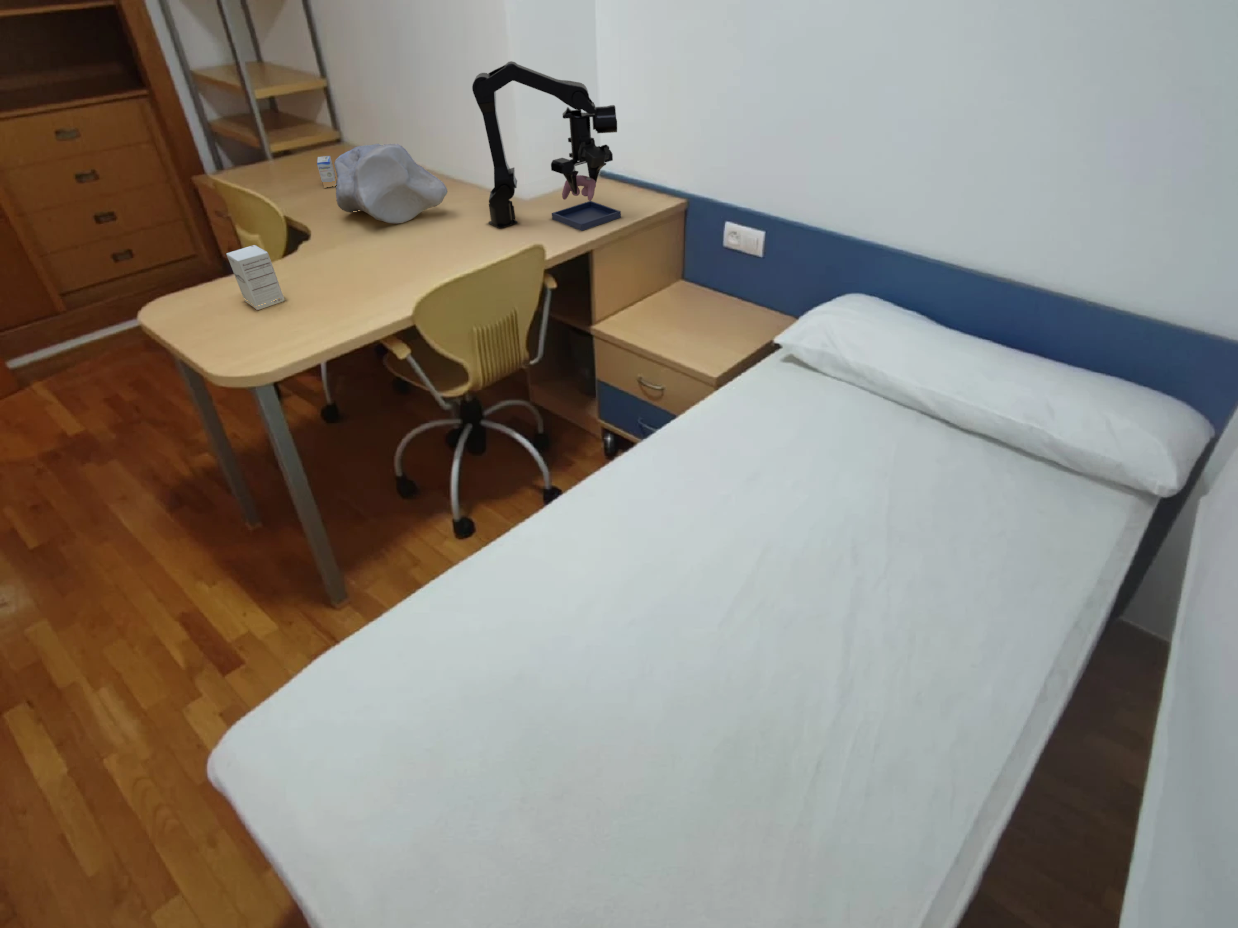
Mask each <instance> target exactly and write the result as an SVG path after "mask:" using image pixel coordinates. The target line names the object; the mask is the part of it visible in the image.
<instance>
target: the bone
mask: <svg viewBox="0 0 1238 928" xmlns="http://www.w3.org/2000/svg"><path fill="white" fill-rule="evenodd" d="M333 164H334V165H333V166H334V170H335V174H336V185H337V186H336V187H335V198H336V200H335V201H336V204H337V207H338V208H339V209H341V211H344V212H346V213H358V212H364V213H366V214H368V215H369V216H371V217H372V218H374V219H375V221H380V222H384V223H386V224H397V225H398V224H402V223H406V222H409V221H411V220H413V219H414V218H415V217H417V216H418V215H419V214H420V213H422V212H424V211H425V210H428V209H431V208H435V207H438V206H439V205H441V204H442V203H443V202H444V199H445V197H446V196H447V194H448V188H447V186H446V184H445V183H444V181H442V180H441V179H439V177H437V176H436V175H434V174H433V173H431V172H430V171H428V170H427V169H425V167H423V166H422V165H419V164H418V163H417V162H416V161H415V160H414V158H413V157H412V156H411V154H410V153H409V151H408V150H407V149H406V148H405V147H403V146H402V145H401V144H399V143H384V144H381V143H374V144H365V145H358V146H355V147H353V148H352V149H350V150H348V151H345V152H344V153H341V154H340V155H339V156H338V157H337V158H336V159H335V160H334V162H333ZM358 210H360V211H358ZM353 211H357V212H353Z"/></svg>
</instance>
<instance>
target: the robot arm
mask: <svg viewBox="0 0 1238 928" xmlns="http://www.w3.org/2000/svg"><path fill="white" fill-rule="evenodd" d="M512 82H516V83H519V84H522V85H524V86H526V87H529V88H532V89H535V90H537V91H540V92H542V93H545V94H548V95H551V96H553V97H555V98H557V99H558V100H559V101H561V102H562V103H563V104H565V105H567V107H566V109H565V110H564V112H562V119H569V133H570V137H568V138H567V142H568V143H570V147H571V152H569V153H568V157H569V158H571V159H568V158H564V157H559V158H555V159H553V160H552V161H551V162H550V170H551V171H552V172H555V173H558V174H561V175H563V176H564V178H565V179H566V180H567V181H568V183H569V185H570V187H571V189H572V191H573V193H574V194H577V179H576V176H577V175H579V171H578V170H576V167H577V166H580V165H584V164H586V166H587V172H588V177H590V178H592V179H594V180H595V182H596V183H597V181H598V178H599V174H600V172H601V169H603V168H604V167H605V166H606V165H607V163H609V162H613V161H614V155H613V151H612V150H611V149H610V146H609V145H608V144H603V145H598V146H597V145H596V141H595V137H592V130H594V131H595V132H596V134H609V133H610V134H612V133H618V119H617V112H616V106H615V105H614V104H611V105H606V106H604V105H603V106H596V104H595V101H593V100H592V99H591V98H590V93H589V90H588V88H587V86H586V85H585V84H584V83H582V82H579V81H573V80H565V79H558V78H555V77H552V76H550V75H547V74H545V73H541V72H539V71H536V70H534V69H532V68H529V67H526V66H523V65H522V64H518V63H517V62H515V61H513V60H511V61H508V62H506V64H504V65H502V66H500V67H498V68H495V69H493V70H492V71H490V72H480V73H478V74H477V75H476V76H475V78H474V80H473V82H472V86H471V90H472V94H473V97H474V98H475V102H476V104H477V106H478V108H479V110H480V112H481V114H482V118H483V122H484V128H485V132H486V137H487V141H488V146H489V150H490V155H491V156H490V157H491V160H492V164H493V185H494V186H493V188H492V189H491V191H489V192H490V193H489V198H488V210H489V216H490V221H488V224H489V225H491V226H493V227H495V228H498V229H503V228H506V227H511V226H513V225H517V224H518V220H516V212H515V206H514V205H513V201H512V200H511V199H512V198H513V197H514V196H515V192H516V189H517V188H518V179H517V178H516V172H515V171H516V170H515V167H511V168H510V166H509V163H508V161H507V157H506V153H505V152H506V151H505V147H504V142H503V137H502V132H501V127H500V122H499V121H500V120H499V118H498V117H499V116H498V112H497V91H499V90H501V89H502V88H504V87H505V86H506V85H508V84H509V83H512ZM570 108H572V109H570ZM582 111H584V112H582ZM591 120H592V121H591ZM591 123H592V129H591Z"/></svg>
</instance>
